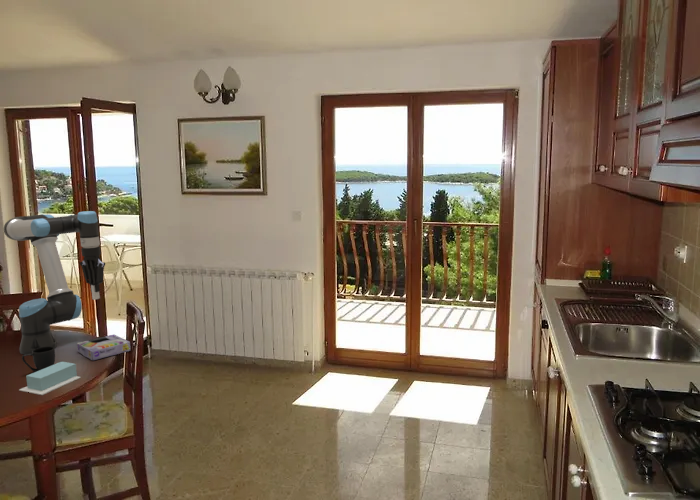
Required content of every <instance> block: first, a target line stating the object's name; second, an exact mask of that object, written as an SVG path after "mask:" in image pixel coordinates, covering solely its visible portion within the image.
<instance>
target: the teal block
mask: <svg viewBox="0 0 700 500" xmlns="http://www.w3.org/2000/svg"><path fill="white" fill-rule="evenodd" d="M75 376H78V373H77V364H76V363H72V362H68V361H67V362H66V361H60V362H59V361H58V362H57V363H54V365H52V366H49V367H47V368H44V369H42V370H39V371H37V372H34V371H33V372H32V373H30V374H27V375H26V385H27V386H26V387H28V388H30V389H35V390H40V391H43V390H45V389H47V388H50V387H52V386H54V385H56V384H59V383H61V382H63V381H66V380H68V379H70V378H72V377H75Z"/></svg>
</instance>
